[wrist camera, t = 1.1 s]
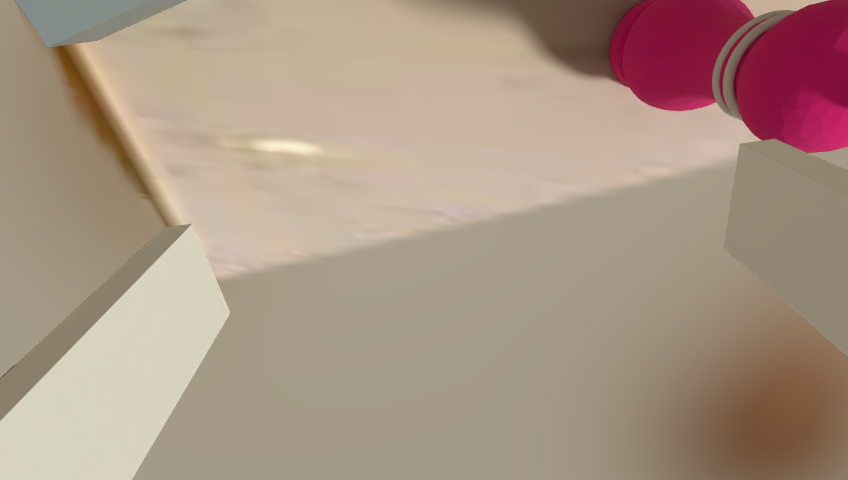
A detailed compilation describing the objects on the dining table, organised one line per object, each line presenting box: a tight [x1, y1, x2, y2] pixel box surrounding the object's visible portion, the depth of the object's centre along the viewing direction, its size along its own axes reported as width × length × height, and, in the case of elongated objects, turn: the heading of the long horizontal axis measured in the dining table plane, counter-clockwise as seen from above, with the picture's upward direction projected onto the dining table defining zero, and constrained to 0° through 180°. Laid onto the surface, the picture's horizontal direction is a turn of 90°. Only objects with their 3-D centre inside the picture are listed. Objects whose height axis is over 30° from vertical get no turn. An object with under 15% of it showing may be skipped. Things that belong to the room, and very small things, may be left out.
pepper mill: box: [609, 0, 848, 153], centre depth 25 cm, size 7×7×20 cm
